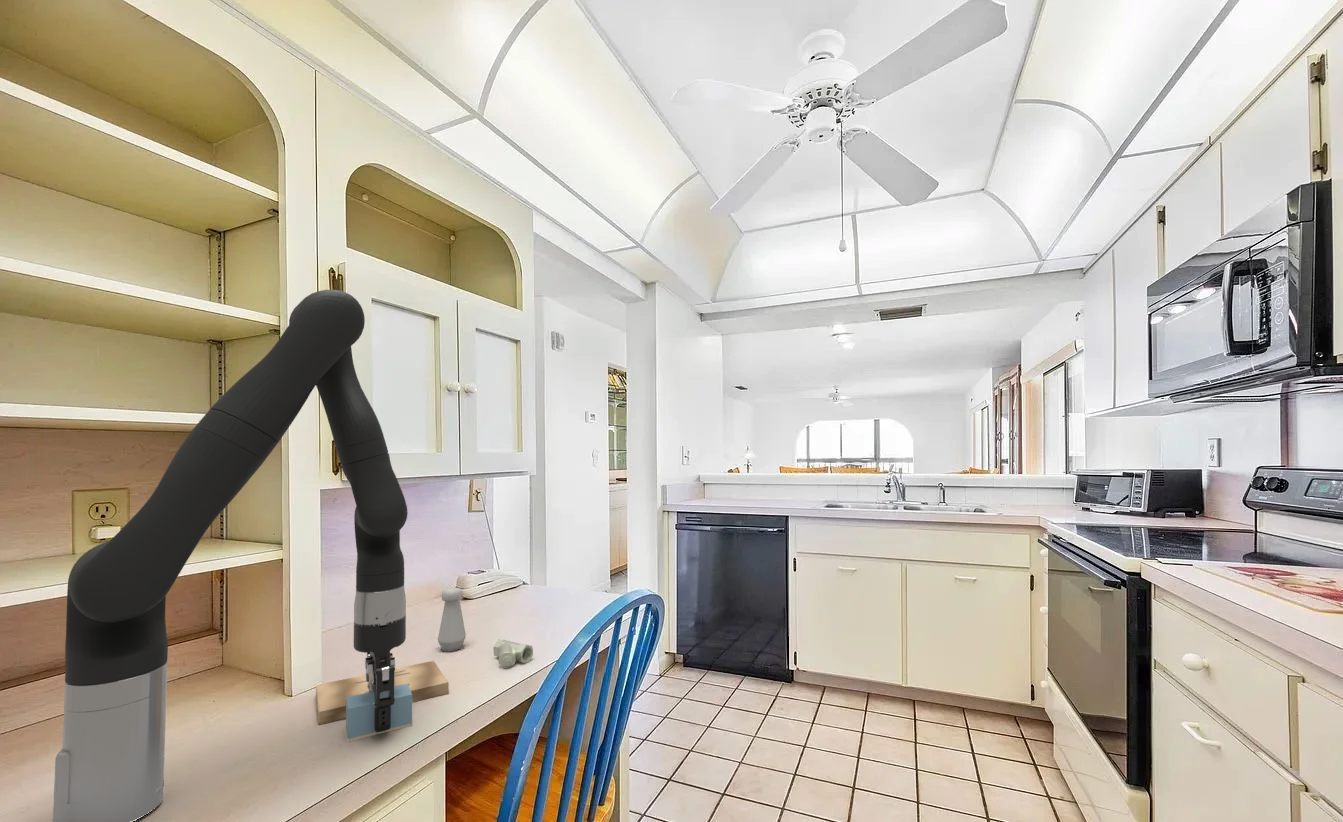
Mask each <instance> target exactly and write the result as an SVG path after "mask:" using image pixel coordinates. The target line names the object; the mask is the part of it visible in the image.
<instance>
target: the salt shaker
mask: <svg viewBox="0 0 1343 822" xmlns="http://www.w3.org/2000/svg"><path fill="white" fill-rule="evenodd" d="M462 598H463V590H462V589H461V588H459V587H449V588H448V587H447V588H445V589H444V590H443V591H442V592H441V600H442V601H444V605H443V609H442V610H443V611H442V614H441V615H442V617H441V621H440V626H439V632H438V636H437V642H438V644H439V646H440V648H441V650H442V652H449V651H451V652H455V651H458V649H459V650H460V649H461V648H462V647H463V645H464V643H465V640H466V637H467V636H466V635H467V633H466V629H465V623H464V617H463V612H462V606H461V599H462ZM454 650H455V651H454Z"/></svg>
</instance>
